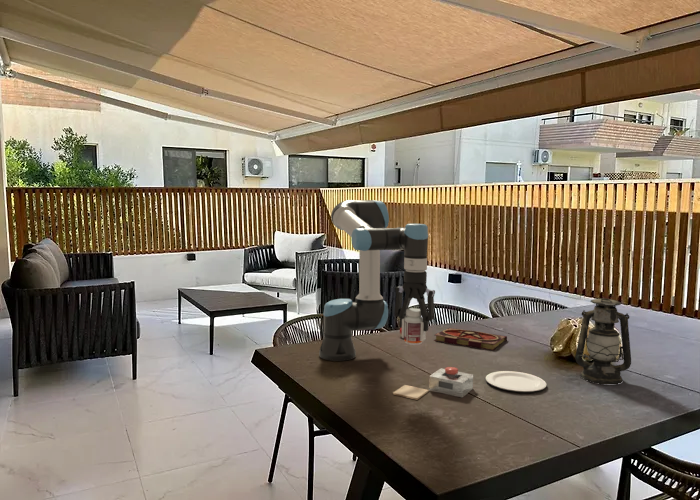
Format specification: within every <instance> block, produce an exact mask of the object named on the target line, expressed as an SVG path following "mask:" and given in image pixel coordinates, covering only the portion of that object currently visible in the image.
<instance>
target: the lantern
mask: <svg viewBox="0 0 700 500" xmlns="http://www.w3.org/2000/svg"><path fill="white" fill-rule="evenodd" d="M590 303H592V304H595V306H594V308H593V309H592V310H588V311H586V310H584V309H583V310H582V312H581V316H582V321H581V325H580V326H581V327H580V331H579V337H578V341H577V345H576V346H577V347H576V351H575V352H576V353H575V356H574V358H575V362H576V364H578V365H579V366H580V367H581V368H583V369H582V371H581V372H580V374H579V377H580V376H581V377H582V378H584V379H585V380H584V379H583V380H584V381H586V380H588V381H591V382H594V383H593V384H595V383H599V384H598V385H601V384H618V383H621V382H622V381H623V378H622V376H621V374H622V373H621V372H624V371H626V370H628V369H630V367H631V364H632V356H631V354H632V353H631V344H630V343H631V341H630V331H629V328H630V327H629V319H630V315H629V313H627V312H626V314H624V313H622V312H619V311H618V308H617V306H621V305H623V304H622V302H621V301H618V300H615V299H610V298H594V299H592V300H590ZM591 320H592V321H593V322H594V327H591V328H590V329H589V325H590V321H591ZM617 323H619V325H620V332H621V333H620V332H618V330H617V329H615V324H617ZM620 334H621V341H620ZM621 344H622V345H621ZM585 345H586V346H585ZM620 345H621V346H620ZM585 347H586V350H587V353H588V354H586V353H584V350H585ZM617 357H618V359H617ZM586 358H587V359H588V360H591V361H592V360H593V361H592V362H588V361H586V360H584V359H586ZM619 361H623V363H622V364H617V365H612V364H611V363H618V362H619ZM581 377H580V378H581ZM582 378H581V379H582ZM588 381H587V382H588ZM591 382H590V383H591ZM623 382H624V381H623Z"/></svg>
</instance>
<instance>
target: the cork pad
mask: <svg viewBox="0 0 700 500" xmlns="http://www.w3.org/2000/svg"><path fill="white" fill-rule="evenodd" d="M429 391H430V390H429V389H427V388H422V387H416V386H413V385H412V386H411V385H407V384H403V385H402V386H401V387H399V388H397V389H396V390H395V391H392V395H395V396H398V397H401V398H407V399H412V400H416V401H417V400H419V399H421V398H422V397H424V396H425V395H426V394H427V393H429Z"/></svg>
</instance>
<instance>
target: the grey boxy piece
mask: <svg viewBox="0 0 700 500" xmlns="http://www.w3.org/2000/svg"><path fill="white" fill-rule="evenodd" d="M428 377H429V379H428V380H429V381H428V390H429V391H430V392H435V393H441V394H445V395H449V396H453V397H458V398H465V396H466V395H467V394H468V393H470V392H471V391H472V390H473V389H474V374H473V373H467V372H462V371H458V374H455V378H452V377H448V374H447V373H445V368H443V367H442V368H439V369H437V370H436V371H435V372H433V373H432V374H430V375H429V376H428Z"/></svg>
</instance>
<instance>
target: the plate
mask: <svg viewBox="0 0 700 500" xmlns="http://www.w3.org/2000/svg"><path fill="white" fill-rule="evenodd" d="M485 381H486V382H487V383H488V384H490V386H493V387H495V388H498V389H500V390H504V391H509V392H517V393H535V392H539V391H543V390H544V389H546V388H547V385H548V384H547V382H546V381H545V380H544V379H542V378H541V377H539V376H536V375H534V374H531V373H526V372H522V371H521V372H520V371H511V370H500V371H493V372H490V373H489V374H487V375H486V376H485Z"/></svg>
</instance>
